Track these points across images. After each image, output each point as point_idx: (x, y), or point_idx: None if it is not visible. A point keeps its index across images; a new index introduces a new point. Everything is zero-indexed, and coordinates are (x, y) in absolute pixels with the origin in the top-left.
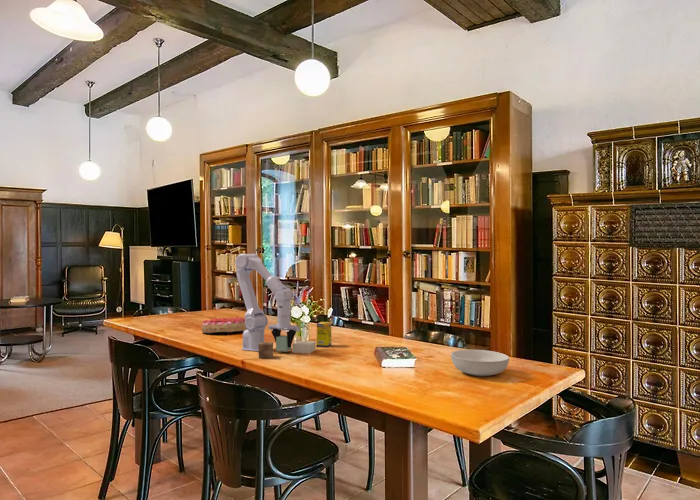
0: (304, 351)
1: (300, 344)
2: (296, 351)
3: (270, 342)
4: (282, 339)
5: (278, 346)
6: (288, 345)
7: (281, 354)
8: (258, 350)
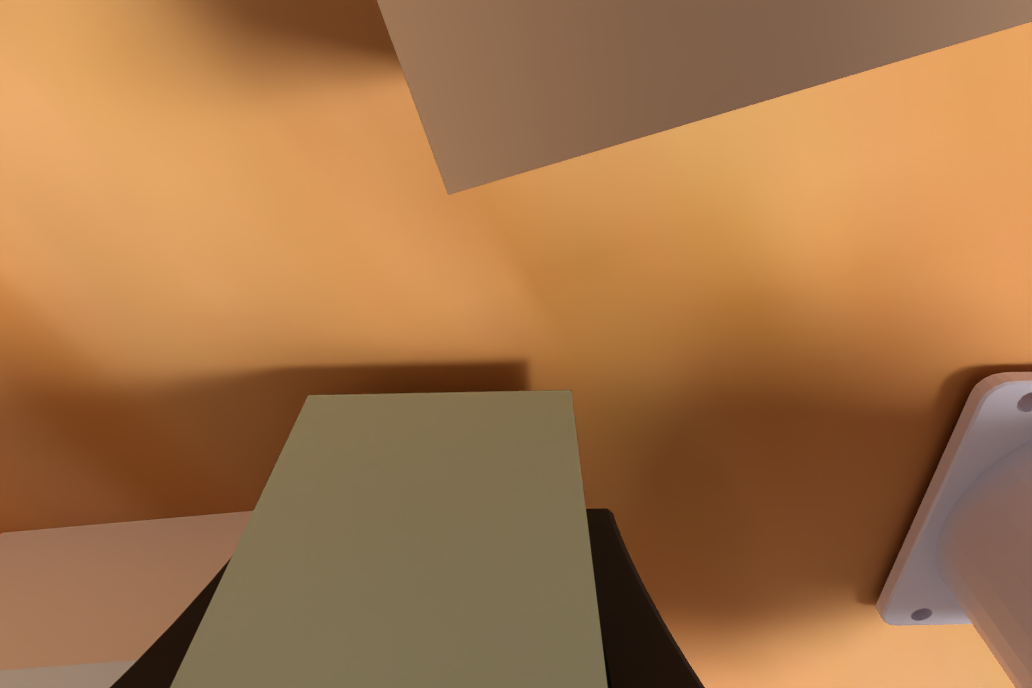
0: (77, 547)
1: (75, 663)
2: (232, 527)
3: (553, 80)
4: (343, 651)
5: (506, 460)
6: None
7: (397, 303)
8: (1022, 380)
